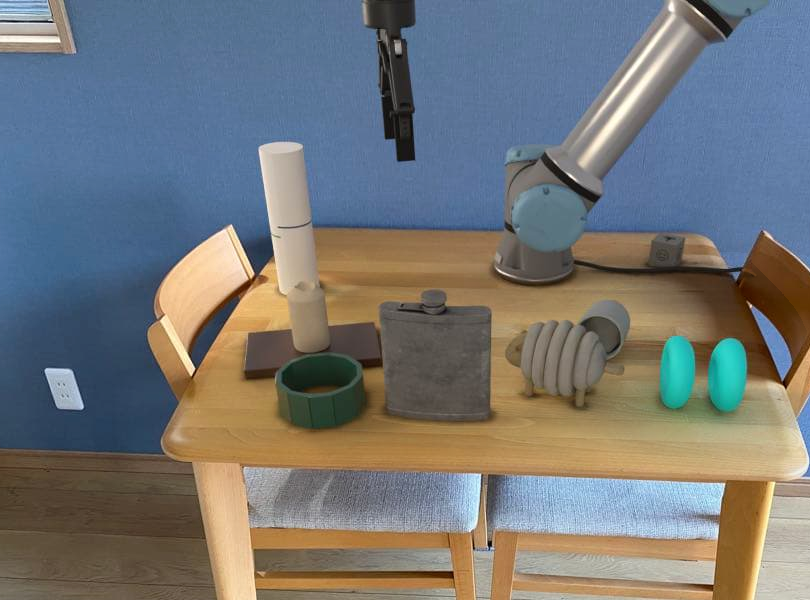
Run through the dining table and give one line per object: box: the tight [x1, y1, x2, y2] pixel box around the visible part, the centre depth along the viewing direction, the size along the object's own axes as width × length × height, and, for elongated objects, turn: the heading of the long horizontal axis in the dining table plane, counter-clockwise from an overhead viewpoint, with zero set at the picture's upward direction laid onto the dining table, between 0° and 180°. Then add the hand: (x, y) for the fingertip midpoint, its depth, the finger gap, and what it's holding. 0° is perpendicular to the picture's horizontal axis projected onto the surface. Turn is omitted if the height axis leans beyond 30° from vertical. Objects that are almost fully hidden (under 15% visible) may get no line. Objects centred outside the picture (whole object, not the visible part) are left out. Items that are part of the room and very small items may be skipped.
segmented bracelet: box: [274, 352, 367, 430], centre depth 104 cm, size 12×12×5 cm
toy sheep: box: [504, 319, 625, 408], centre depth 104 cm, size 11×17×11 cm, turn 72°
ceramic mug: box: [573, 299, 631, 361], centre depth 117 cm, size 11×8×8 cm
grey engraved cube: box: [647, 232, 686, 268], centre depth 146 cm, size 5×5×5 cm
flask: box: [378, 288, 493, 422], centre depth 98 cm, size 4×14×18 cm, turn 84°
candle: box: [286, 281, 330, 353], centre depth 114 cm, size 6×6×10 cm
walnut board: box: [243, 321, 383, 380], centre depth 117 cm, size 20×12×2 cm, turn 101°
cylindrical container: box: [258, 141, 321, 296], centre depth 130 cm, size 7×7×25 cm
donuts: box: [659, 335, 748, 413], centre depth 103 cm, size 10×10×10 cm
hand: (399, 149), depth 119 cm, fingers open, 13 cm apart
